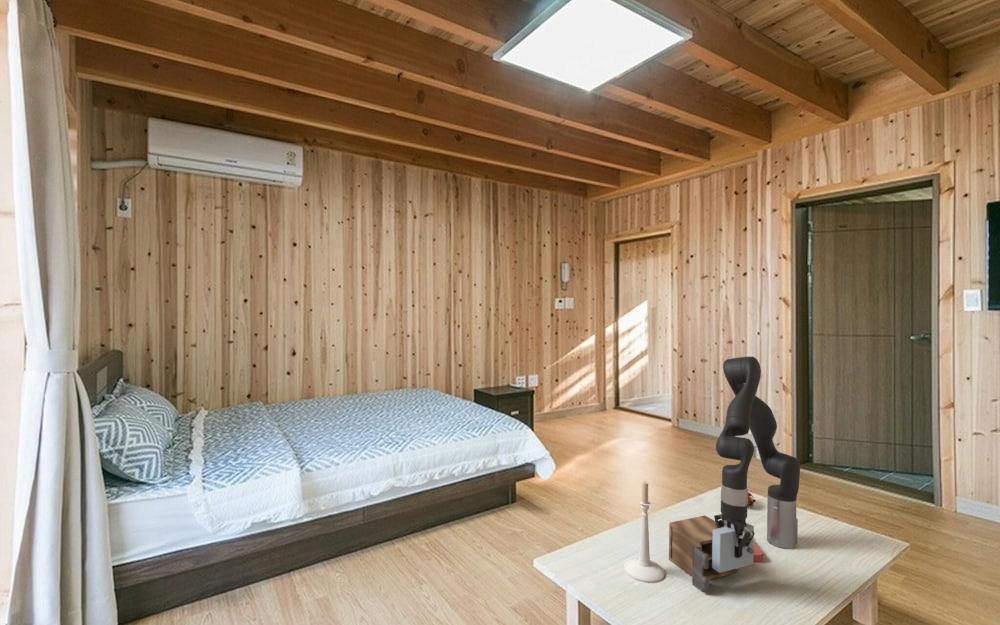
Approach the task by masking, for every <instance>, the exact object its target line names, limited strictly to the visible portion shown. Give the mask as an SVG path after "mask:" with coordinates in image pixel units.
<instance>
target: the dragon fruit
mask: <svg viewBox="0 0 1000 625" xmlns="http://www.w3.org/2000/svg"><path fill="white" fill-rule="evenodd" d="M747 494H748V505H747V507H750V508H752V507H753V506H754V503H756V499H755V497H753V494H752V493H750V492H749V491H748V489H747Z"/></svg>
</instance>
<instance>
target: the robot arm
mask: <svg viewBox="0 0 1000 625" xmlns="http://www.w3.org/2000/svg"><path fill="white" fill-rule="evenodd" d="M722 369H723V373H724V377H725V378H726V381H727V383H728V385H729V387H730V388H731V390H732V392H733V394H734V397H733V399H732V400H731V401H730V402H729V404H728V407H727V408H726V416H725V423H724V427H723V429H722V431H721V433H720V434H719V436H718V438H717V441H716V443H715V451H716V453H717V454H718V456H719V457H721V458H724V459H730V460H734V461H735V460H737V461H740V462H739V463H738V464H737V463H736V464H726V465H724V466H723V467H722V468H721V489H720V512H721V513H719V514H715V515H714V516H713V518H714V521H715V522H716V525H717V529H718V528H721V526H722V528H723V527H727V528H728V527H729V528H731V529H732V531H734V532H733V538H734V541H735V552H734V556H735V557H736V558H740V557H741V556H742V549H743V547H747V546H749V544H750V542H751V540H752V538H753V536H754V537H755V530H754V531H750V530H749V529H748V528H747V524H746V523H747V522H746V521H747V518H748V506H747V505H748V494H747V492H748V491H747V490H748V472H749V467H750V464H751V461H752V458H753V456H754V453H755V445H756V448H757V452H758V455H759V458H760V461H761V464H762V467H763V470H764V471H765V472H766V473H767V474H769V475H770V476H772V477H775V478H777V479H780V482H779V484H773V485H769V486H768V488H767V512H766V514H767V515H766V518H767V520H766V527H767V528H766V541H767V542H768V543H769V544H770V545H773V546H775V547H776V548H777V547H778V548H780V549H794V548H796V546H797V545H798V534H799V533H798V530H799V529H798V527H799V526H798V525H799V524H798V523H799V521H798V520H799V519H798V518H797V502H798V500H797V499H798V498H797V497H798V493H799V488H800V476H801V465H800V461H799V460H798V459H797V458H796V457H795V456H793V455H789V454H786V453H783V452H780V451H778V449H777V448H776V445H775V443H774V440H773V439H774V437H775V435H776V433H777V428H778V423H777V420H776V417H775V415H774V413H773V410H772V408H771V407H770V406H769V405H768V404H767V403H766V402H765V401H763V399H761V398H760V397H758V396H757V391H758V388H759V385H760V380H761V377H762V369H761V364H760V362H759V360H758V359H757V358H756V357H755V356H740V357H733V358H732V357H731V358H728V359H726V360H724V361H723V364H722ZM749 431H750V432H751V435H752V437H753V439H754V443H755V445H754V443H753V441H752V440H751V439H749V438H747V437H742V436H746V435H747V434H748V433H749ZM737 534H740V535H737Z"/></svg>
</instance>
